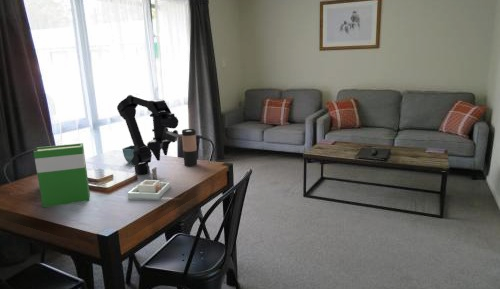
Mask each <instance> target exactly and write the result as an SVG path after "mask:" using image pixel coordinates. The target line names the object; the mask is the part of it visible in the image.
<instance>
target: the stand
mask: <svg viewBox="0 0 500 289" xmlns="http://www.w3.org/2000/svg"><path fill="white" fill-rule="evenodd" d="M157 169H158V168H157V166H155V167H153V168H151V172H152V177H151V176H149V178H147V180H160V182H163V183H167V181H168V180H169V179H170V178H169V177H158V174H157Z"/></svg>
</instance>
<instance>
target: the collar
mask: <svg viewBox="0 0 500 289" xmlns="http://www.w3.org/2000/svg"><path fill="white" fill-rule="evenodd" d="M141 182H142V183H141ZM141 182H139V183H140V184H139V183H138V184H139V185H138V184H137V185H138V188H139V190H138V192H141V193H158V192H159V191H160V190H161V189H162V188H163V187H161V185H160V180H148V179H144V180H143V181H141Z"/></svg>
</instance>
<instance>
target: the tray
mask: <svg viewBox="0 0 500 289" xmlns="http://www.w3.org/2000/svg"><path fill="white" fill-rule="evenodd" d="M142 182H143V181H140V182H139V183H138V184H136V186H134V187H133V188H131V189H130V190H129V191H128V192H127V200H135V201H137V200H138V201H160V200H161V199H162V198H163V197H164V196H163V195H164V194H165V193H166V192H167V191H168V190H169V189H170V188H171V182H164V183H163V182H160V185H161V188H162V189H161V190H160V191H158V192H157V193H141V192H139V188H138V185H139V184H140V183H142Z"/></svg>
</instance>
